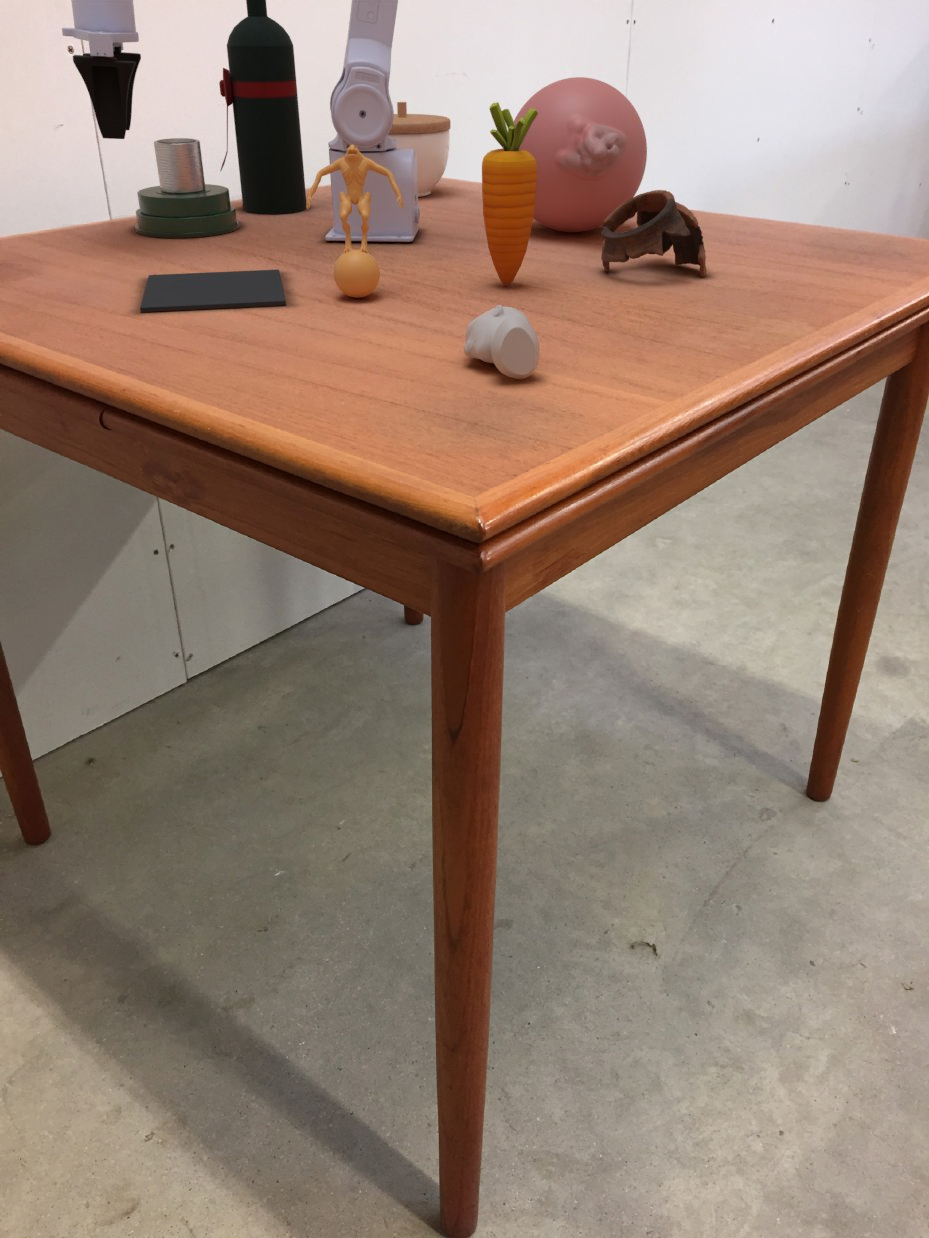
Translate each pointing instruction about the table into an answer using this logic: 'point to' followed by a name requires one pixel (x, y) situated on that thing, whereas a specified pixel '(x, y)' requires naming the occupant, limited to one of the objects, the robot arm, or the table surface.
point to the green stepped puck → (185, 213)
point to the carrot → (508, 193)
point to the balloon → (583, 152)
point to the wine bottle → (265, 113)
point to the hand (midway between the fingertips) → (116, 134)
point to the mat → (213, 290)
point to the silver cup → (179, 165)
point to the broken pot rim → (653, 231)
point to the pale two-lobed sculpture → (504, 341)
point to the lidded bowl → (423, 144)
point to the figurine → (357, 266)
